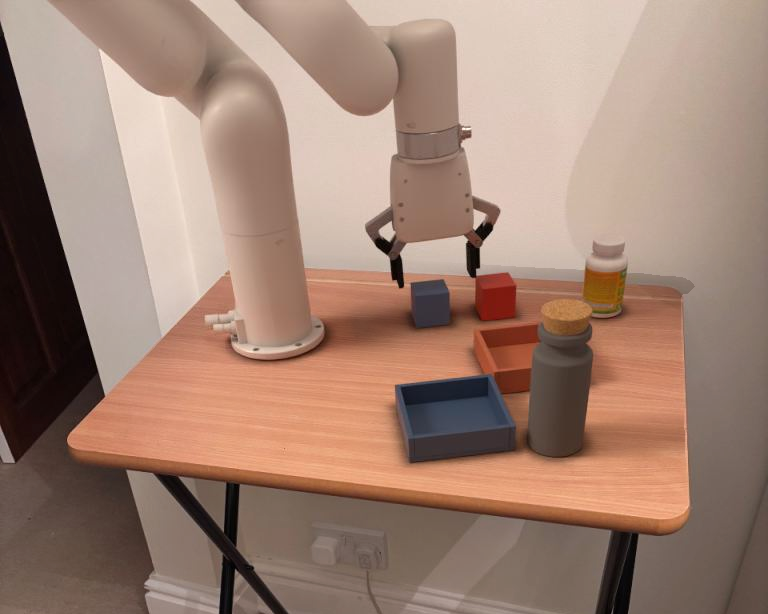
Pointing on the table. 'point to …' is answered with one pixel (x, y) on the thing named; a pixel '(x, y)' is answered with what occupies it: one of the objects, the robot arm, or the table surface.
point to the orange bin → (507, 354)
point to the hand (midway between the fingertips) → (436, 279)
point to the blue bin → (454, 418)
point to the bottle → (560, 379)
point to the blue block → (430, 303)
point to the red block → (495, 296)
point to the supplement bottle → (605, 276)
